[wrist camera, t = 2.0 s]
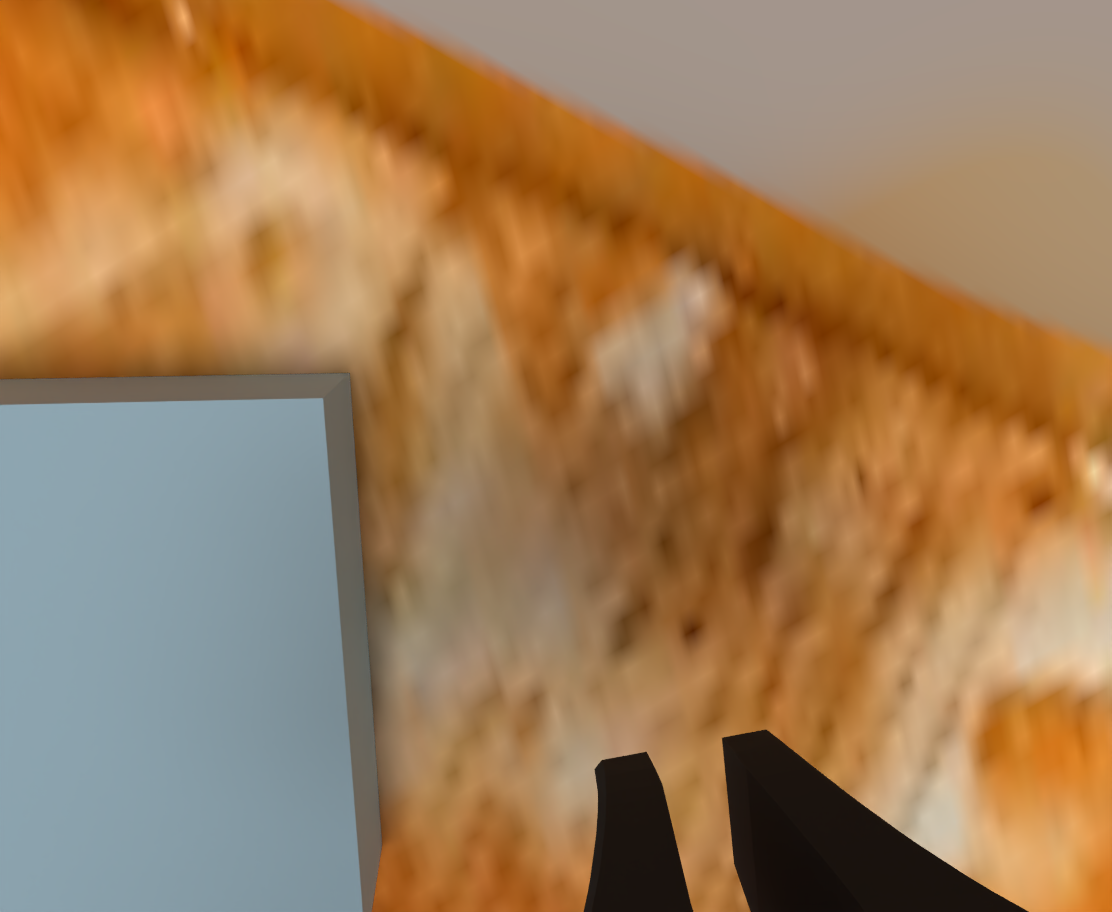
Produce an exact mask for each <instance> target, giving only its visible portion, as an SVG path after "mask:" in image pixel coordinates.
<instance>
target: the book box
mask: <svg viewBox="0 0 1112 912" xmlns="http://www.w3.org/2000/svg"><path fill="white" fill-rule="evenodd" d="M381 849H382V835H381V821H380V806H379V792H378V777H377V763H376V748H375V733H374V719H373V704H372V690H371V675H370V661H369V646H368V632H367V617H366V603H365V588H364V573H363V559H362V544H361V530H360V515H359V501H358V486H357V472H356V457H355V443H354V428H353V413H352V399H351V384H350V373H321V374H265V375H209V376H154V377H98V378H42V379H0V912H372V906H373V900H374V894H375V887H376V881H377V874H378V868H379V862H380V855H381Z"/></svg>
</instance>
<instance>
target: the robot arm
mask: <svg viewBox="0 0 1112 912" xmlns="http://www.w3.org/2000/svg"><path fill="white" fill-rule="evenodd" d="M722 742H723V752H724V763H725V773H726V783H727V794H728V804H729V814H730V825H731V835H732V846H733V856H734V864H735V867H736V870H737V873H738V876H739V879H740V882H741V885H742V888H743V891H744V894H745V896H746V899H747V902H748V905H749V908H750V911H751V912H1028V911H1026V910H1025V909H1023V908H1021V907H1019V906H1017V905H1016V904H1014V903H1012V902H1010V901H1009V900H1007V899H1005V898H1003V897H1001V896H1000V895H998V894H996V893H994V892H993V891H991V890H989V889H988V888H986V887H984V886H983V885H981V884H979V883H978V882H976V881H974V880H973V879H971V878H969V877H968V876H966V875H964V874H963V873H961V872H960V871H958V870H957V869H955V868H954V867H952V866H950V865H949V864H947V863H946V862H944V861H943V860H941V859H940V858H938V857H937V856H935V855H934V854H932V853H930V852H929V851H927V850H926V849H924V848H923V847H921V846H920V845H918V844H917V843H915V842H914V841H912V840H911V839H909V838H908V837H907V836H905V835H904V834H902V833H901V832H899V831H898V830H897V829H895V828H894V827H892V826H891V825H890V824H888V823H887V822H886V821H884V820H883V819H881V818H880V817H879V816H877V815H876V814H875V813H873V812H872V811H870V810H869V809H868V808H866V807H865V806H864V805H862V804H861V803H860V802H858V801H857V800H856V799H854V798H853V797H852V796H850V795H849V794H848V793H846V792H845V791H844V790H842V789H841V788H840V787H838V786H837V785H836V784H835V783H833V782H832V781H831V780H830V779H828V778H827V777H826V776H824V775H823V774H822V773H821V772H819V771H818V770H817V769H816V768H814V767H813V766H812V765H810V764H809V763H808V762H807V761H805V760H804V759H803V758H802V757H800V756H799V755H798V754H797V753H795V752H794V751H793V750H792V749H790V748H789V747H788V746H787V745H785V744H784V743H783V742H782V741H780V740H779V739H778V738H777V737H775V736H774V735H773V734H771V733H770V732H769V731H767V730H761V731H756V732H751V733H745V734H740V735H735V736H729V737H724V738H722ZM595 775H596V782H597V789H598V818H597V832H596V841H595V848H594V856H593V863H592V870H591V878H590V884H589V889H588V894H587V899H586V904H585V908H584V912H693V910H692V906H691V903H690V899H689V894H688V890H687V886H686V882H685V878H684V873H683V869H682V865H681V861H680V856H679V852H678V848H677V844H676V840H675V835H674V831H673V827H672V823H671V819H670V814H669V810H668V806H667V802H666V798H665V794H664V790H663V786H662V783H661V781H660V778H659V776H658V774H657V772H656V770H655V767H654V765H653V763H652V762H651V760H650V758H649V756H648V754H647V752H643V753H638V754H633V755H627V756H622V757H616V758H611V759H606V760H602V761H601V762H600V763H599V764H598V766H597V767H596V768H595Z"/></svg>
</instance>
